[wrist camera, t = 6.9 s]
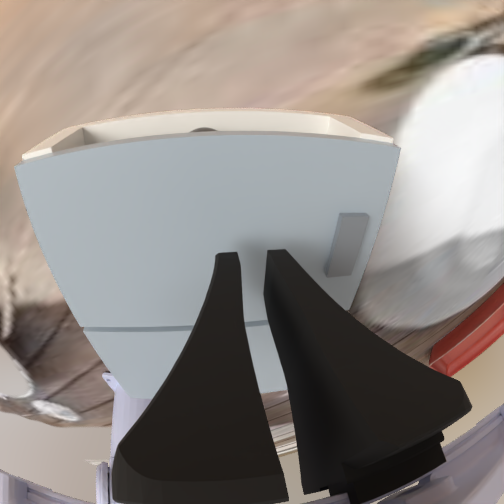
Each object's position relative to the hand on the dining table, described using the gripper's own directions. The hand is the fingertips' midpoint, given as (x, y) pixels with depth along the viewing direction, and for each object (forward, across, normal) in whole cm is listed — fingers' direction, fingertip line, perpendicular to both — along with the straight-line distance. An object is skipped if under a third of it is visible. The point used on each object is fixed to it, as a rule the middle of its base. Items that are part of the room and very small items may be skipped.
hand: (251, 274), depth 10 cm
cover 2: (+2, +2, +9) cm, 9 cm away
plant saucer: (+6, -38, +21) cm, 44 cm away
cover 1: (+2, +1, 0) cm, 2 cm away
